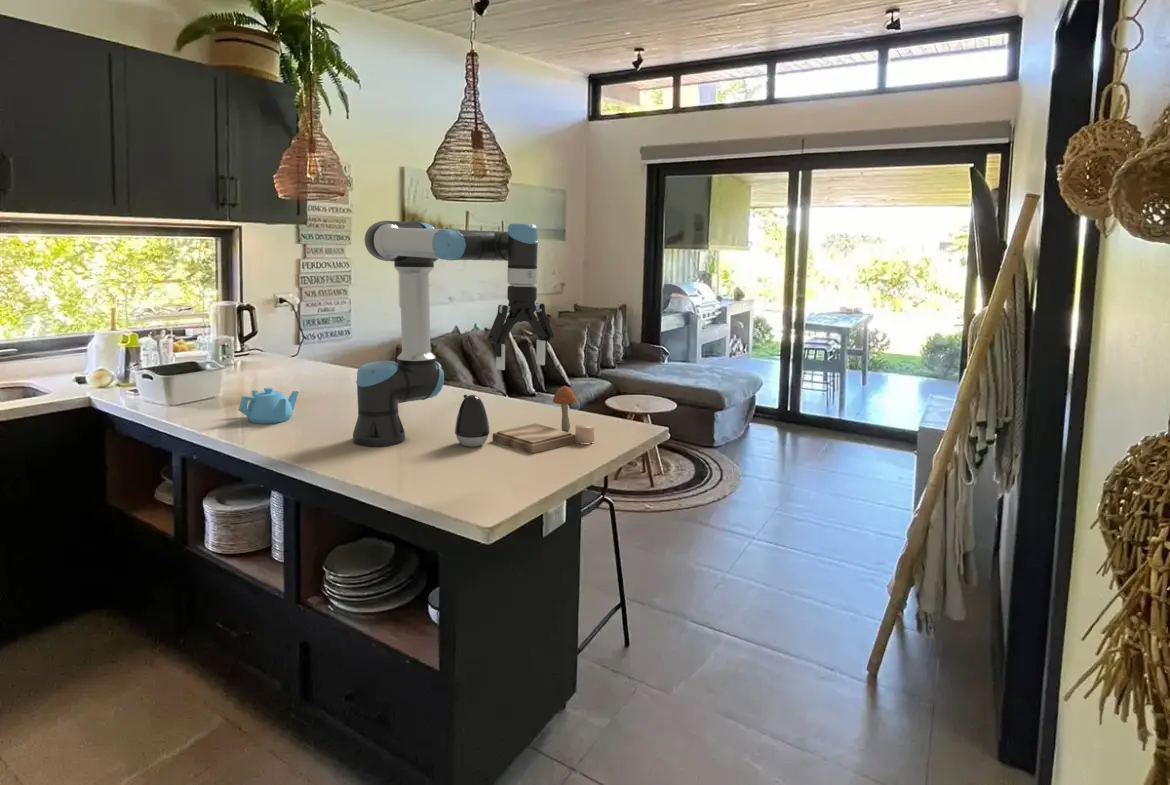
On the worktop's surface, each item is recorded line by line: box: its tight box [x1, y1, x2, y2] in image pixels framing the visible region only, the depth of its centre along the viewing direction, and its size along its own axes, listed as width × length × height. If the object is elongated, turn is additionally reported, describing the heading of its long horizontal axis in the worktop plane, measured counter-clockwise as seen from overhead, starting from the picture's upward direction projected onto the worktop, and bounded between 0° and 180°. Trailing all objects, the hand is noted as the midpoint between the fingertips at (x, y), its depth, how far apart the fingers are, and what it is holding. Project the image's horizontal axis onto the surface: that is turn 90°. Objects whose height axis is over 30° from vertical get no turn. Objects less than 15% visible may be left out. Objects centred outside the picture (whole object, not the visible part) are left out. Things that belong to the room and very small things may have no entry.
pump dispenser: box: [454, 394, 491, 448], centre depth 214 cm, size 10×10×15 cm
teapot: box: [238, 386, 300, 425], centre depth 237 cm, size 15×15×11 cm
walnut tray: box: [491, 423, 576, 454], centre depth 220 cm, size 18×18×3 cm
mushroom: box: [552, 385, 578, 432], centre depth 233 cm, size 8×8×15 cm
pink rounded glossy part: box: [574, 423, 596, 444], centre depth 222 cm, size 6×6×5 cm
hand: (521, 367), depth 189 cm, fingers open, 13 cm apart
